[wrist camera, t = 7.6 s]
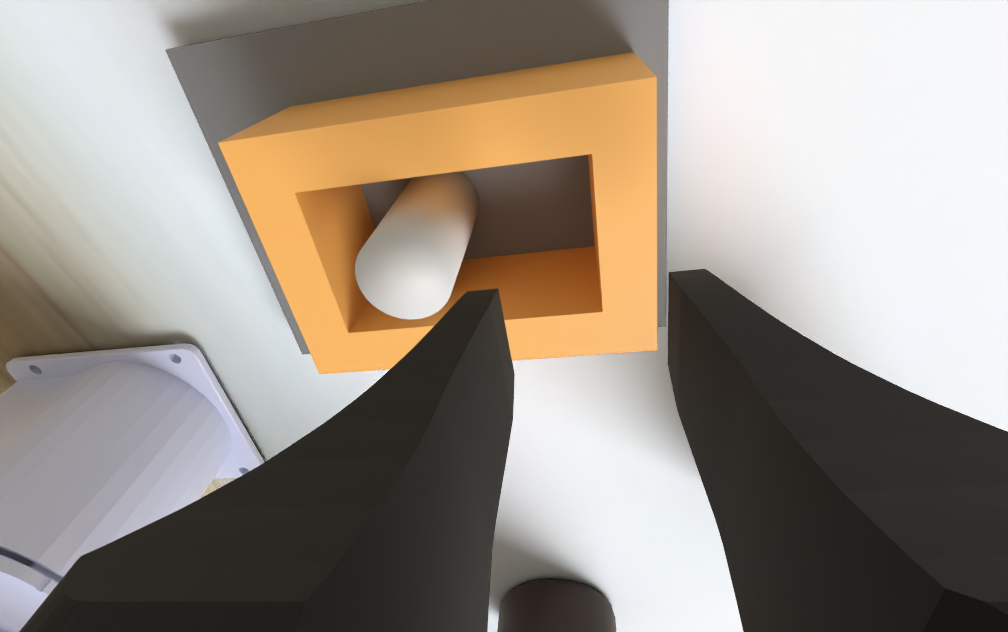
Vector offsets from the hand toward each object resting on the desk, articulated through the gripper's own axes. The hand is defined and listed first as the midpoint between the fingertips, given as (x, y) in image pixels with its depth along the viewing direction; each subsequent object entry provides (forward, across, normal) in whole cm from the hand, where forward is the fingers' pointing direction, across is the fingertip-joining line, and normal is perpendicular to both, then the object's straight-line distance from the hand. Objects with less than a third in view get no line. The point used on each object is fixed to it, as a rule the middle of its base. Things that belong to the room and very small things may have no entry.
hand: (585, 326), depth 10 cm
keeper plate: (+9, +4, 0) cm, 10 cm away
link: (+8, +3, 0) cm, 8 cm away
